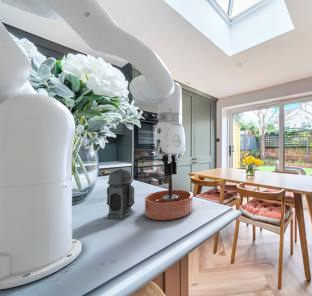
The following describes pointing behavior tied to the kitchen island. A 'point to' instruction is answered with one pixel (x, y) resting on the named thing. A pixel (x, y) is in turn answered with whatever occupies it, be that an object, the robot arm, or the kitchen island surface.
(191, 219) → the kitchen island surface
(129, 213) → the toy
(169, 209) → the bowl
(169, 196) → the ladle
